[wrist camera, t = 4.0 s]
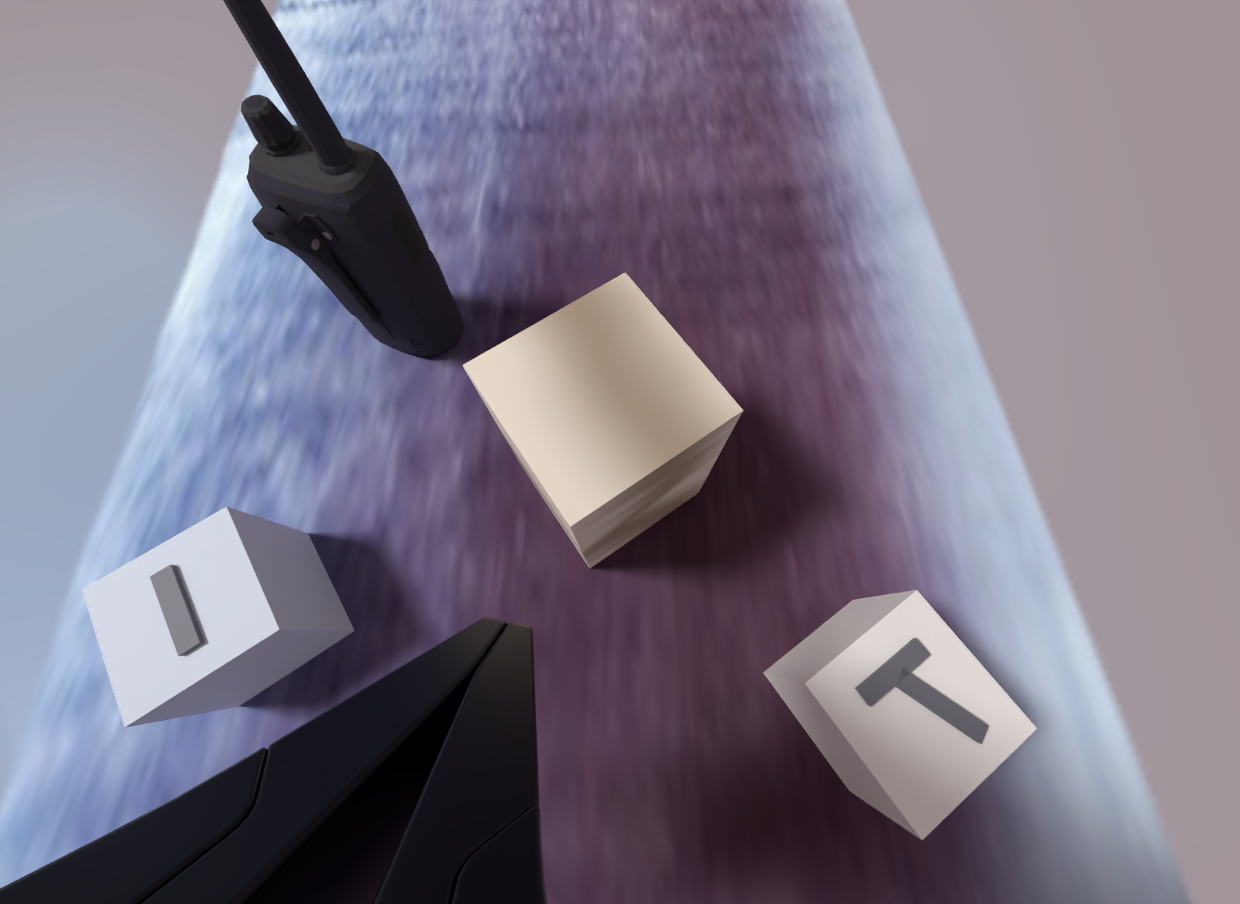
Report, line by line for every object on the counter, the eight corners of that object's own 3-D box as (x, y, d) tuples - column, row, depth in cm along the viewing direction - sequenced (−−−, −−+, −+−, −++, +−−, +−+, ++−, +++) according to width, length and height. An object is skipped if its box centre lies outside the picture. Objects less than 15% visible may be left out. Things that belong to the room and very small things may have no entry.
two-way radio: (480, 318, 26) (317, -48, 12) (440, 390, 25) (204, 69, 11) (387, 287, 27) (132, -93, 13) (343, 355, 26) (2, 11, 11)
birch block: (589, 568, 22) (570, 526, 13) (519, 461, 24) (462, 365, 15) (698, 492, 23) (743, 410, 15) (623, 396, 25) (625, 272, 16)
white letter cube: (240, 705, 20) (118, 728, 15) (199, 599, 22) (75, 589, 17) (355, 630, 21) (275, 629, 16) (309, 533, 23) (222, 505, 18)
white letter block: (848, 790, 19) (926, 843, 14) (762, 672, 21) (806, 683, 16) (939, 706, 20) (1042, 729, 15) (852, 600, 21) (920, 589, 17)
